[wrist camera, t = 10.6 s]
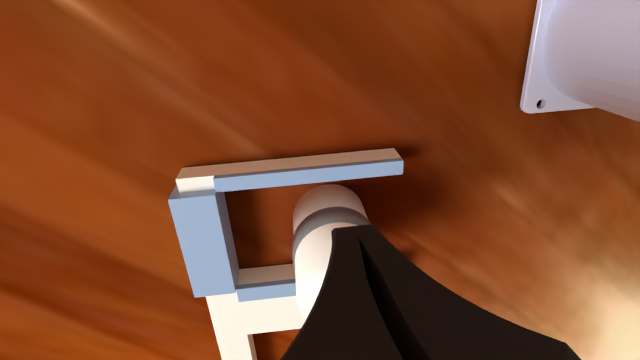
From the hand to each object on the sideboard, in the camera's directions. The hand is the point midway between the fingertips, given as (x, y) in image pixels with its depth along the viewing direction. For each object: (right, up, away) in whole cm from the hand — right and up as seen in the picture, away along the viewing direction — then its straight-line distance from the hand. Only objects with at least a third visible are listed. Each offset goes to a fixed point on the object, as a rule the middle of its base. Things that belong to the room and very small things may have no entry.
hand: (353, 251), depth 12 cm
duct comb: (-2, -5, +13) cm, 14 cm away
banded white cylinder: (-1, 0, +11) cm, 11 cm away
